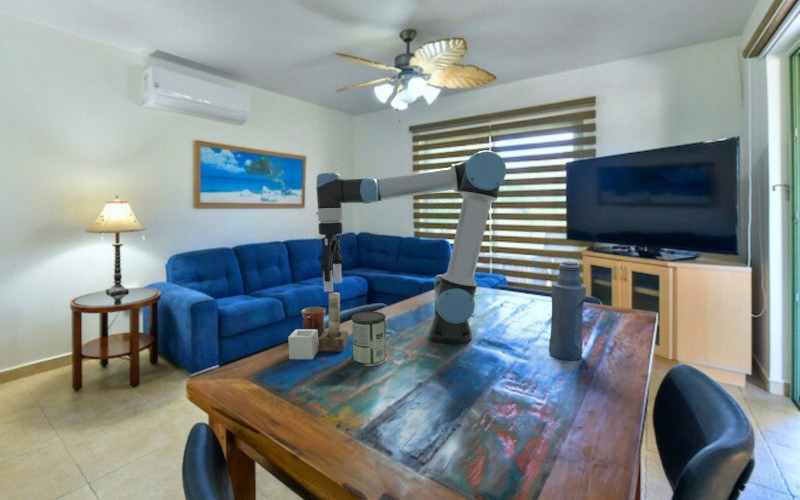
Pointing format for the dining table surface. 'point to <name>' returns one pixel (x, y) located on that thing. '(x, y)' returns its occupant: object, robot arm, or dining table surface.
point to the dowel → (334, 314)
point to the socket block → (333, 342)
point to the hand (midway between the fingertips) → (333, 286)
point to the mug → (314, 319)
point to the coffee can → (369, 338)
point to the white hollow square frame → (303, 344)
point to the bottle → (567, 313)
